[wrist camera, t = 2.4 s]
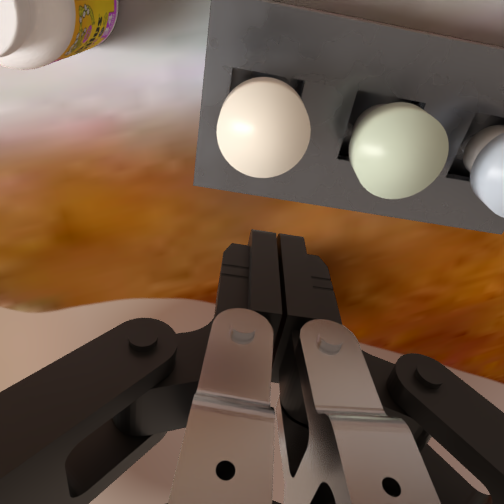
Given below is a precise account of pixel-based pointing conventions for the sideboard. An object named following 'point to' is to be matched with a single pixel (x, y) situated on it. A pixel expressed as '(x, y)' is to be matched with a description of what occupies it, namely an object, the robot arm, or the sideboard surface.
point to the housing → (351, 103)
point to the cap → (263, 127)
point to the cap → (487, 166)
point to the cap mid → (397, 149)
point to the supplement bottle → (52, 29)
